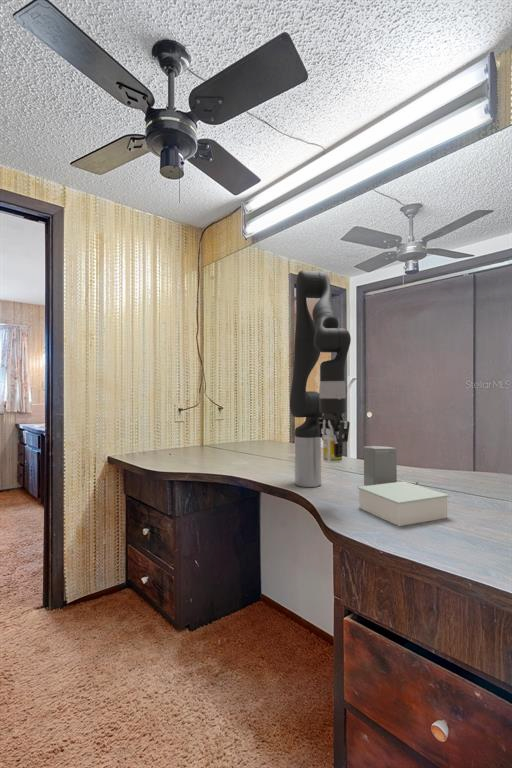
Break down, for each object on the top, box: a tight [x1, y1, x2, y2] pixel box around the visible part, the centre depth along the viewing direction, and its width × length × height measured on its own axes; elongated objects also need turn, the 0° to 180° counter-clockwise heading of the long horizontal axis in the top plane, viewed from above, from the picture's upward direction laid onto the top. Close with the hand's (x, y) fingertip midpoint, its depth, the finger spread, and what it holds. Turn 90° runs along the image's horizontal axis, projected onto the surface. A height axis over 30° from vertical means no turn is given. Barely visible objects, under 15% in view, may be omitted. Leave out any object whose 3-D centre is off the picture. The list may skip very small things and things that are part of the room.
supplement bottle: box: [322, 428, 343, 464], centre depth 114 cm, size 5×5×10 cm
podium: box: [357, 481, 450, 527], centre depth 108 cm, size 17×17×6 cm
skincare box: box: [363, 445, 398, 486], centre depth 124 cm, size 8×7×16 cm
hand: (332, 454), depth 114 cm, fingers closed on supplement bottle, 5 cm apart
